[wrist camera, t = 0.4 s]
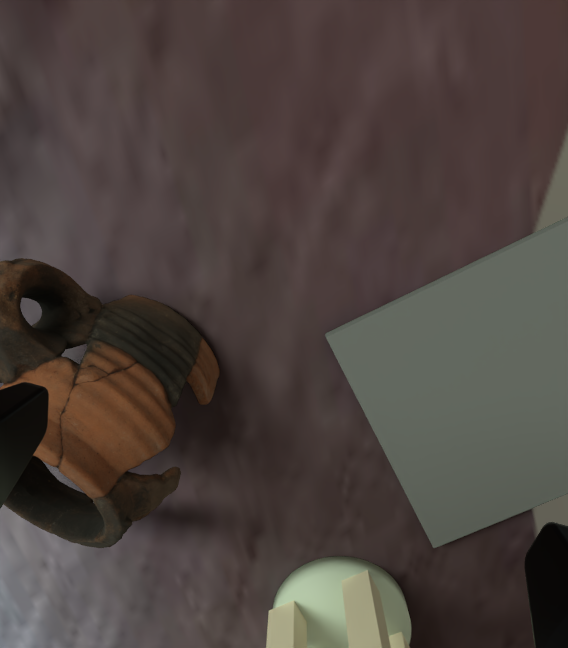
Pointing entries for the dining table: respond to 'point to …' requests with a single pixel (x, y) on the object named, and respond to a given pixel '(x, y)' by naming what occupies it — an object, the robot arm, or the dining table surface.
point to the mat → (471, 385)
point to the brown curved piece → (97, 399)
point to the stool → (339, 607)
